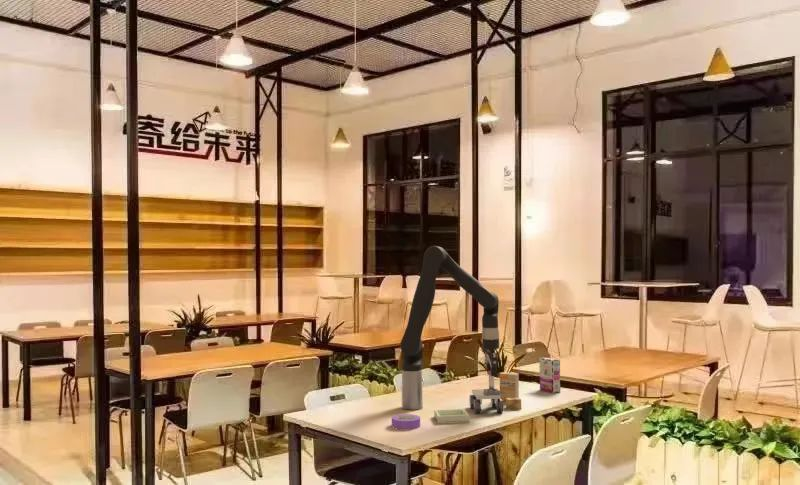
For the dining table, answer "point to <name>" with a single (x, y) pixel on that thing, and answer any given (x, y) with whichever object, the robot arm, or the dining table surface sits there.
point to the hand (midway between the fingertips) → (491, 374)
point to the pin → (491, 382)
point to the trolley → (486, 394)
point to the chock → (513, 403)
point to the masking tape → (406, 421)
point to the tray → (451, 416)
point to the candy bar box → (549, 375)
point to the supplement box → (509, 385)
